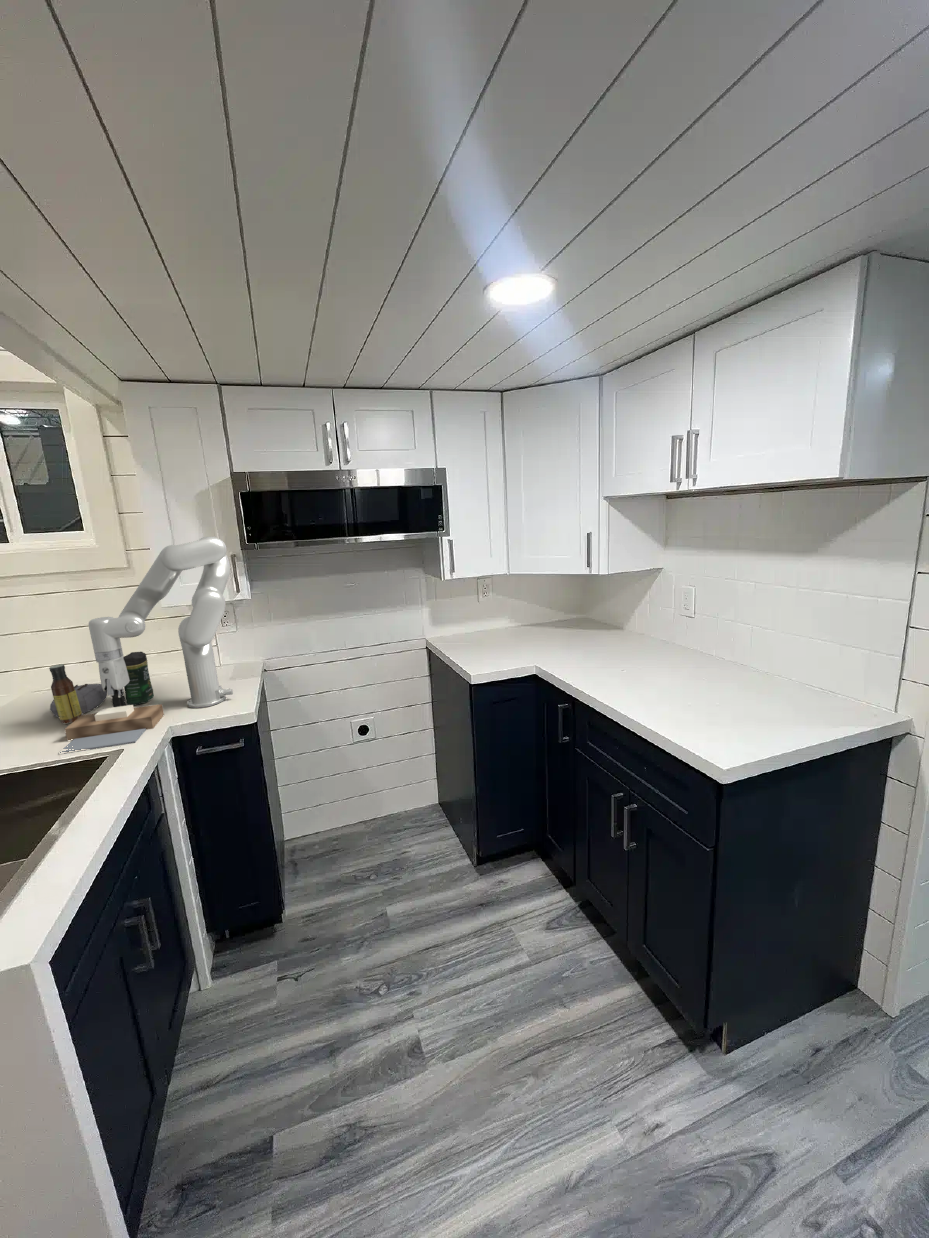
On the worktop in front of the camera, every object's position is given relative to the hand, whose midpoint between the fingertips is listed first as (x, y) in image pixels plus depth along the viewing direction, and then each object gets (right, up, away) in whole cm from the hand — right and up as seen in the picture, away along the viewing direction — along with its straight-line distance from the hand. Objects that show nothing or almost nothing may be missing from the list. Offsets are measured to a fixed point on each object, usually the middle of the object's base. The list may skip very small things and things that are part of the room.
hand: (120, 707), depth 174 cm
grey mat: (+5, -8, -14) cm, 17 cm away
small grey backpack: (-26, -4, +17) cm, 31 cm away
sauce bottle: (-20, -6, +5) cm, 22 cm away
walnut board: (+2, -6, -3) cm, 7 cm away
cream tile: (+1, -2, -4) cm, 5 cm away
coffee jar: (-6, -1, +21) cm, 22 cm away
